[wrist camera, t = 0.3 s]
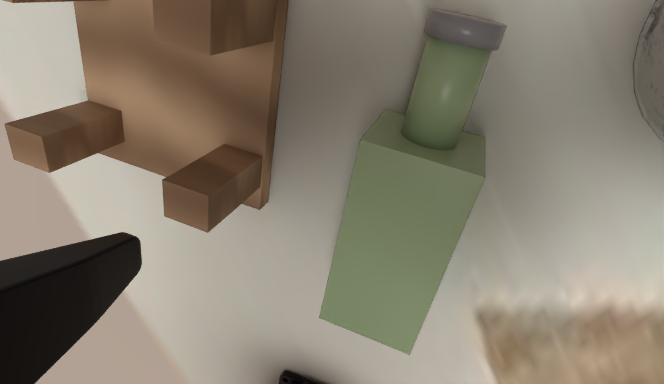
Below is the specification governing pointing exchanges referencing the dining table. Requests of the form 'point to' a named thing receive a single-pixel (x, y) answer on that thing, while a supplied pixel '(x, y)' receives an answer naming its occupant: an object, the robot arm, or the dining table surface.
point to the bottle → (412, 190)
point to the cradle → (172, 100)
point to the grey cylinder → (651, 70)
